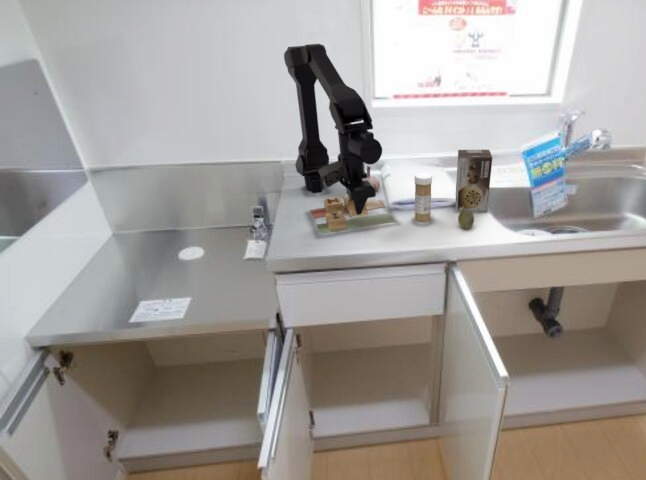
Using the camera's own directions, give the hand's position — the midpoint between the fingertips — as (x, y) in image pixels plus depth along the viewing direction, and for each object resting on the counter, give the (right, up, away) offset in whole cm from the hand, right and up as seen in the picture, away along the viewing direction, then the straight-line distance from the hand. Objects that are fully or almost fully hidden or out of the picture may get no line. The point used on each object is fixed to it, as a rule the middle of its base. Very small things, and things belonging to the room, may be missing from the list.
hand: (356, 210), depth 119 cm
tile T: (0, 0, 0) cm, 0 cm away
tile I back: (-2, +3, +10) cm, 10 cm away
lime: (+30, -4, +4) cm, 30 cm away
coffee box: (+32, +4, +13) cm, 35 cm away
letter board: (-2, -1, +6) cm, 7 cm away
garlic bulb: (+1, +11, +21) cm, 24 cm away
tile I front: (-5, -4, +1) cm, 7 cm away
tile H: (-8, +2, +8) cm, 11 cm away
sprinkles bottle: (+18, -2, +6) cm, 19 cm away
